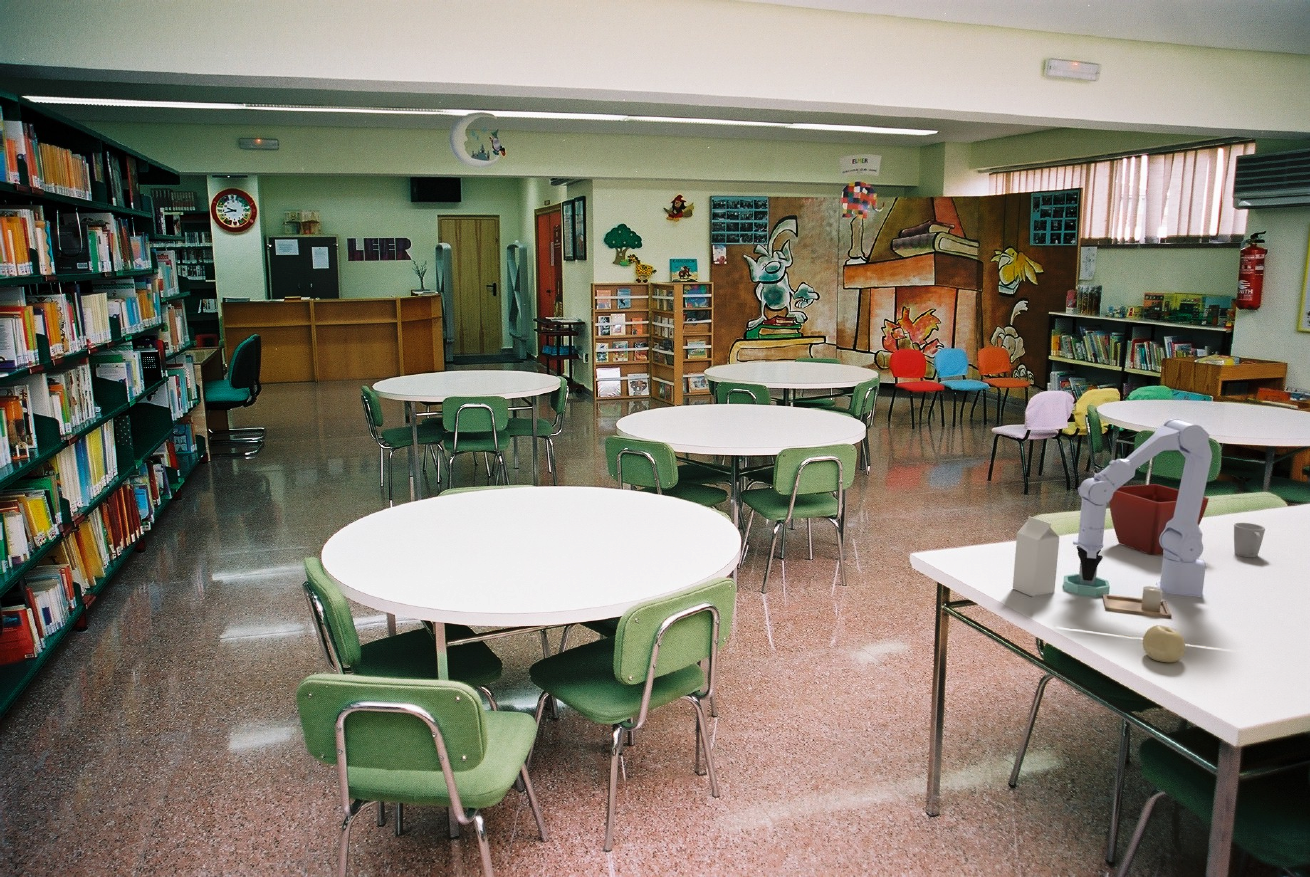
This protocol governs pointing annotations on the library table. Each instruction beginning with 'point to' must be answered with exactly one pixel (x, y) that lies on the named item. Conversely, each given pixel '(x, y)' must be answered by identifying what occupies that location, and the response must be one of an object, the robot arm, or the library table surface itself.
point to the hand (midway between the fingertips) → (1086, 577)
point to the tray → (1132, 606)
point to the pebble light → (1151, 599)
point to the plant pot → (1144, 515)
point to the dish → (1086, 586)
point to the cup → (1247, 539)
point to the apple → (1163, 644)
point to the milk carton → (1036, 558)
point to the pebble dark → (1086, 580)
